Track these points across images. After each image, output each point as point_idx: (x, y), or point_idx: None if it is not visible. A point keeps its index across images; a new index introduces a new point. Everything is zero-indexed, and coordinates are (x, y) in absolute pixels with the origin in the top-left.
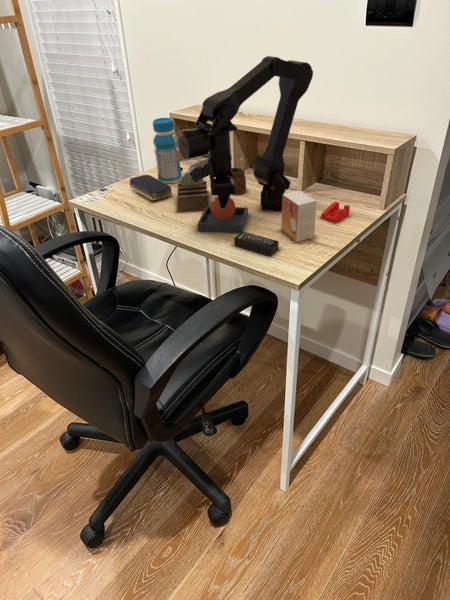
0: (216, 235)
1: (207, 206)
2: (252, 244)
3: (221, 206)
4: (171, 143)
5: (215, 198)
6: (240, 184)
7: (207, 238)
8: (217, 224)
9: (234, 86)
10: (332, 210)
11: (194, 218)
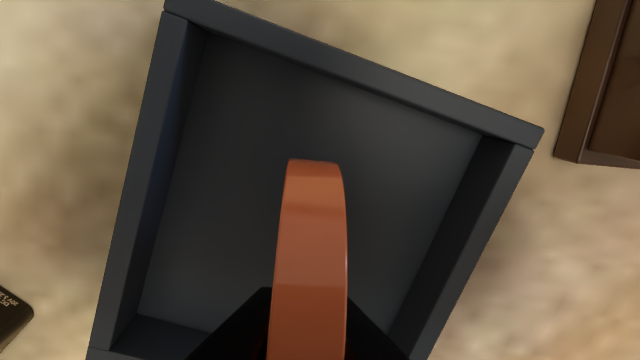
0: (108, 146)
1: (534, 140)
2: None
3: (252, 300)
4: None
5: (291, 303)
6: None
7: (62, 69)
8: (125, 181)
9: None
10: None
11: (455, 4)
